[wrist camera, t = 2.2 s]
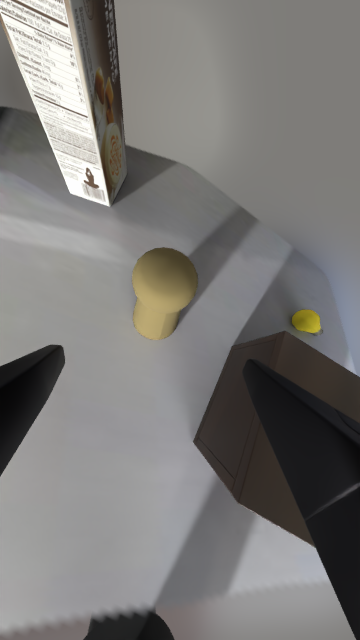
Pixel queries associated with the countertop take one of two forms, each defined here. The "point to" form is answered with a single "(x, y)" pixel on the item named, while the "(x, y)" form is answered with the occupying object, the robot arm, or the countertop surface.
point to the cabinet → (248, 434)
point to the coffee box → (73, 87)
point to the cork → (162, 291)
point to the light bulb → (307, 321)
